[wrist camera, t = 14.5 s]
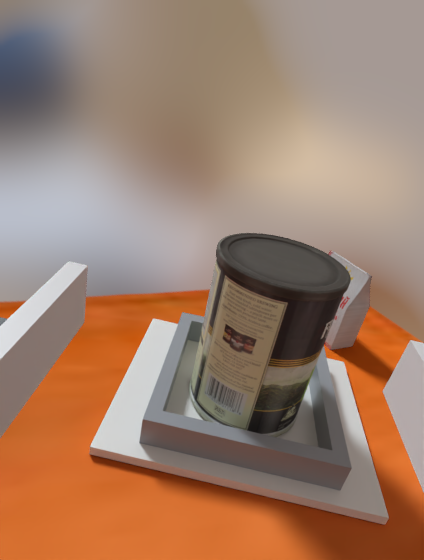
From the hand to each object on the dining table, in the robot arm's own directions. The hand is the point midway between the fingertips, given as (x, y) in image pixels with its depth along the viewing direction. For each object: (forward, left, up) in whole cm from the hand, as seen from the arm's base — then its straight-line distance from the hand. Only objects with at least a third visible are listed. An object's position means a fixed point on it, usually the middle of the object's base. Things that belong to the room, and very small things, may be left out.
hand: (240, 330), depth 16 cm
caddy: (+3, +15, -17) cm, 23 cm away
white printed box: (+13, +31, -17) cm, 38 cm away
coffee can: (+3, +15, -16) cm, 22 cm away
